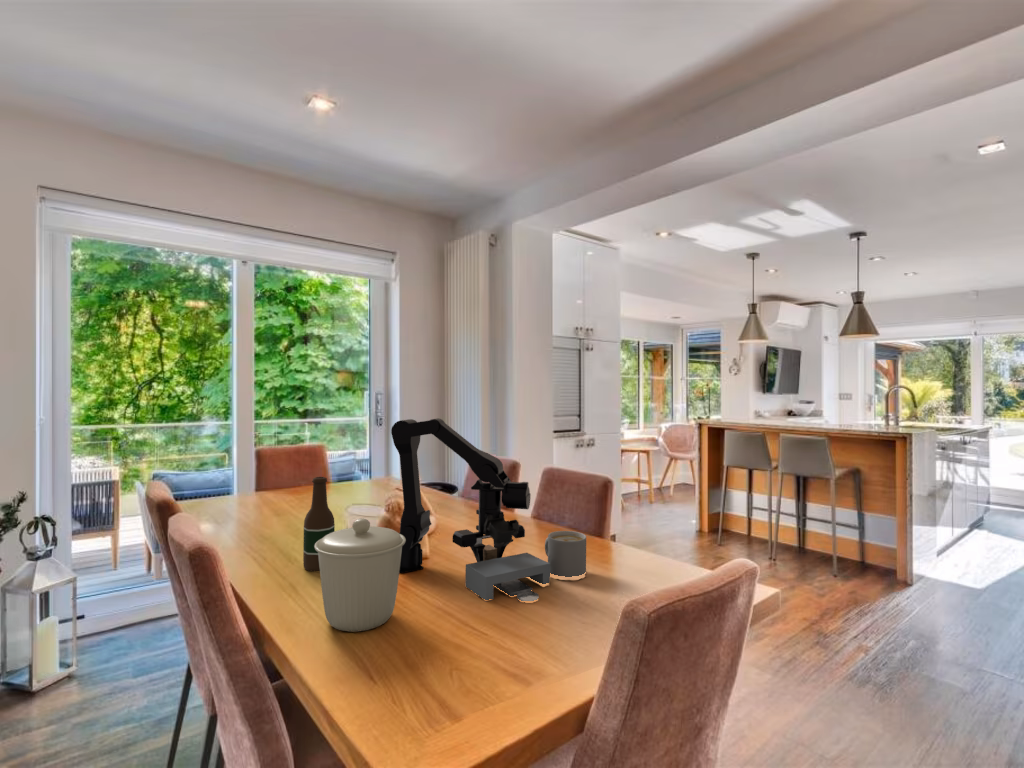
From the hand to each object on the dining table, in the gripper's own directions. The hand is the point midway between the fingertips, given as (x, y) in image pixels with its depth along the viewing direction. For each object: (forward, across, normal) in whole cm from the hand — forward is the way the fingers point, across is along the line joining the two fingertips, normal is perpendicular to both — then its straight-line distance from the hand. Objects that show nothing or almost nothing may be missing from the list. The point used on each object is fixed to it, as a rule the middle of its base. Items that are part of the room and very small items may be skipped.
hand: (489, 567), depth 136 cm
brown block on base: (+2, 0, -6) cm, 7 cm away
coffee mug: (+2, +18, -8) cm, 20 cm away
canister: (+2, -36, -9) cm, 37 cm away
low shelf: (+2, 0, -9) cm, 9 cm away
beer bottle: (+2, -36, +29) cm, 46 cm away
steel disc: (+2, 0, -18) cm, 18 cm away
